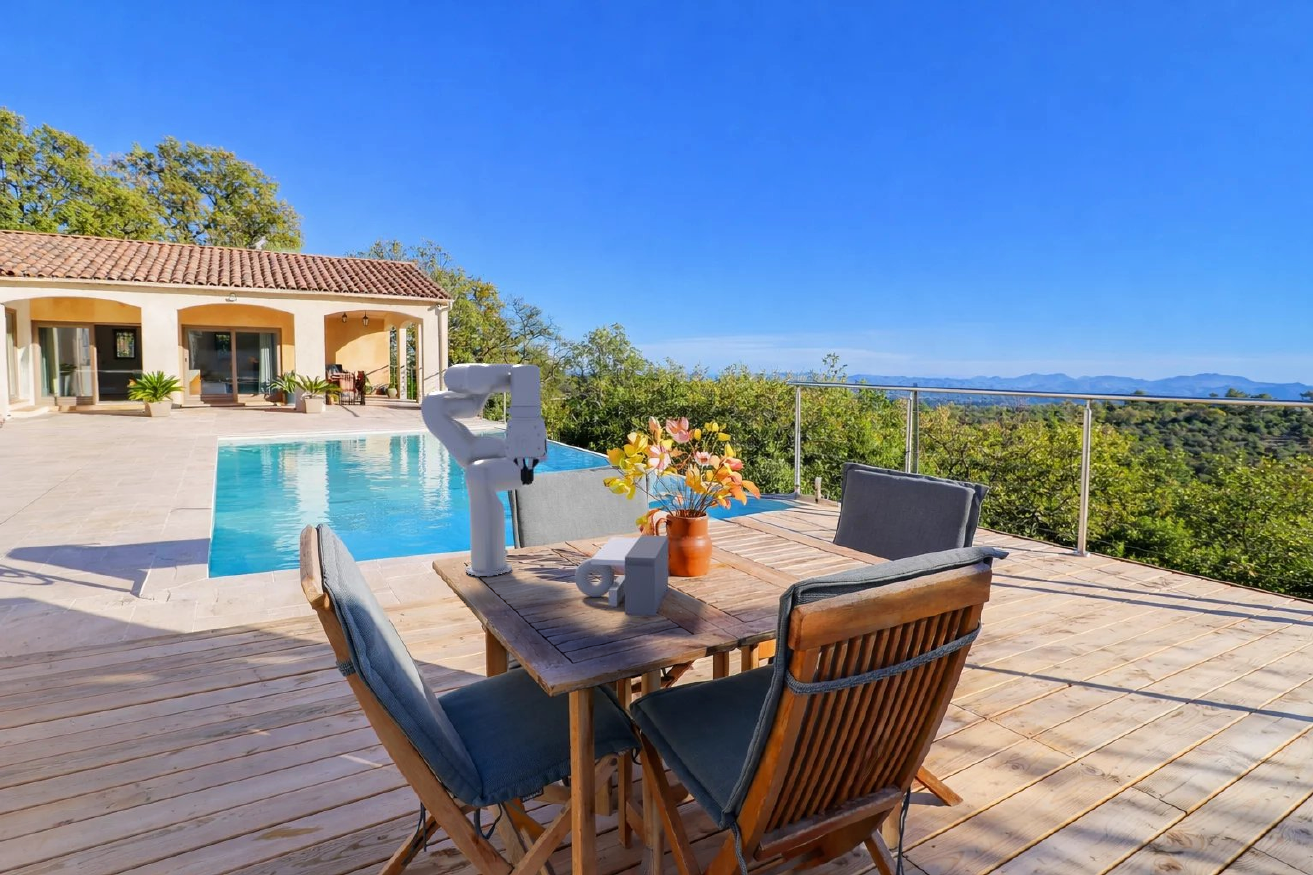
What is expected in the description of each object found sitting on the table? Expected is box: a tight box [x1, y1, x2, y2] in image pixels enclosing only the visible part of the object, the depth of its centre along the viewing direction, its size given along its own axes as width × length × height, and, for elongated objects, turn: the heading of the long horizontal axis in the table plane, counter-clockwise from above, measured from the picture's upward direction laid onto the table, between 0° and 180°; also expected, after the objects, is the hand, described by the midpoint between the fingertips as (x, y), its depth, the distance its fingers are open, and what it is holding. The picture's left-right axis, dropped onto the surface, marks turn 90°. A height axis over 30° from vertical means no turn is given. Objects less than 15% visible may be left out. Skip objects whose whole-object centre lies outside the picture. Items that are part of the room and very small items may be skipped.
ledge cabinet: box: [591, 534, 669, 617], centre depth 174 cm, size 22×15×14 cm
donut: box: [574, 557, 616, 598], centre depth 176 cm, size 10×3×10 cm, turn 89°
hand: (527, 483), depth 182 cm, fingers closed
